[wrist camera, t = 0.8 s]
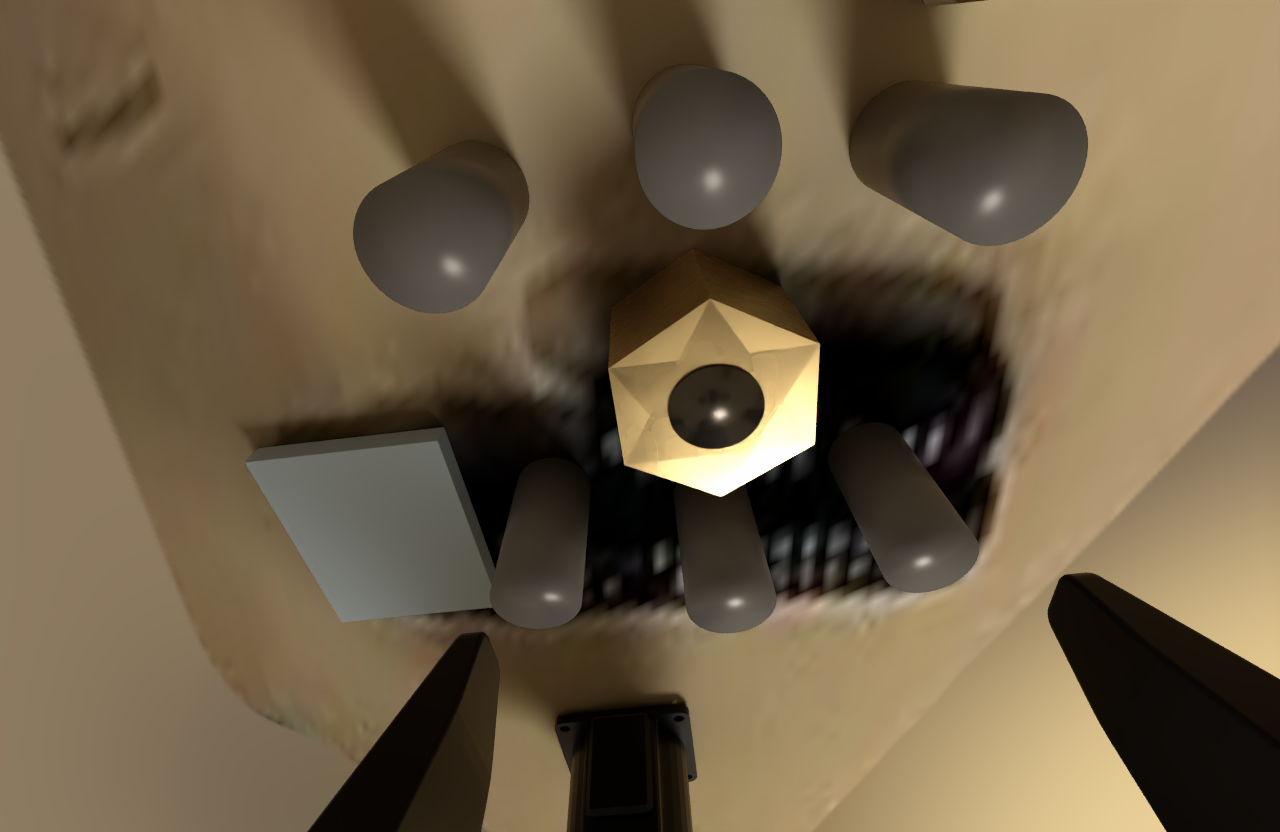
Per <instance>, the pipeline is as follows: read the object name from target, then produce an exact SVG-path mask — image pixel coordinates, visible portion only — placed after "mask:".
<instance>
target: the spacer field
mask: <svg viewBox="0 0 1280 832" xmlns="http://www.w3.org/2000/svg"><path fill="white" fill-rule="evenodd" d="M632 130H633V141H634V150H635V160H636V168H637V173H638V177H639V180H640V184H641V186H642V188H643V191H644V193H645V194H646V196H647V198H648V199H649V201H650V202H651V203H652V205H653V206H654V207H655V208H656V209H657V210H658V211H659V212H660V213H661V214H662V215H663V216H665V217H666V218H668V219H669V220H671V221H673V222H674V223H676V224H679V225H681V226H684V227H688V228H692V229H702V230H705V229H715V228H720V227H724V226H727V225H730V224H732V223H734V222H736V221H738V220H740V219H741V218H743V217H745V216H746V215H747V214H749V213H750V212H751V211H752V210H754V209H755V208H756V206H757V205H758V204H759V203H760V202H761V201H762V200H763V198H764V197H765V196H766V194H767V193H768V191H769V190H770V188H771V186H772V184H773V182H774V180H775V177H776V175H777V172H778V169H779V165H780V160H781V152H782V135H781V129H780V124H779V121H778V118H777V114H776V112H775V110H774V108H773V106H772V104H771V103H770V101H769V100H768V98H767V96H766V95H765V94H764V93H763V92H762V91H761V90H760V89H759V88H758V87H757V86H756V85H755V84H754V83H752V82H751V81H749V80H748V79H746V78H744V77H742V76H740V75H738V74H735V73H732V72H728V71H724V70H718V69H713V68H707V67H702V66H696V65H688V64H685V65H677V66H672V67H670V68H667V69H665V70H663V71H661V72H659V73H658V74H657V75H655V76H654V77H653V78H652V79H651V80H650V81H649V82H648V83H647V84H646V86H645V87H644V88H643V90H642V91H641V93H640V95H639V97H638V99H637V102H636V105H635V108H634V112H633V120H632ZM1087 150H1088V137H1087V131H1086V127H1085V124H1084V122H1083V119H1082V117H1081V116H1080V114H1079V112H1078V111H1077V110H1076V109H1075V108H1074V107H1073V105H1071V104H1070V103H1069V102H1067V101H1066V100H1064V99H1062V98H1060V97H1058V96H1054V95H1051V94H1044V93H1034V92H1023V91H1013V90H1003V89H993V88H983V87H973V86H962V85H952V84H942V83H932V82H922V81H906V82H901V83H898V84H895V85H893V86H891V87H889V88H887V89H885V90H884V91H882V92H881V93H879V94H878V95H877V96H876V97H874V98H873V99H872V100H871V101H870V102H869V103H868V105H867V106H866V107H865V108H864V110H863V111H862V113H861V114H860V116H859V118H858V120H857V122H856V124H855V126H854V129H853V132H852V136H851V141H850V160H851V164H852V167H853V170H854V172H855V174H856V175H857V177H858V178H859V179H860V181H861V182H862V183H863V184H865V185H866V186H867V187H869V188H871V189H872V190H874V191H876V192H878V193H880V194H881V195H883V196H885V197H887V198H889V199H890V200H892V201H894V202H896V203H898V204H899V205H901V206H903V207H905V208H907V209H908V210H910V211H912V212H914V213H916V214H917V215H919V216H921V217H923V218H925V219H926V220H928V221H930V222H932V223H934V224H935V225H937V226H939V227H941V228H943V229H945V230H946V231H948V232H950V233H952V234H954V235H955V236H957V237H959V238H961V239H963V240H964V241H967V242H969V243H972V244H976V245H983V246H995V245H1002V244H1007V243H1010V242H1013V241H1016V240H1018V239H1021V238H1023V237H1025V236H1027V235H1029V234H1031V233H1033V232H1034V231H1036V230H1037V229H1039V228H1040V227H1042V226H1043V225H1044V224H1045V223H1047V222H1048V221H1049V220H1050V219H1051V218H1052V217H1053V216H1054V215H1055V214H1056V213H1057V212H1058V211H1059V210H1060V209H1061V208H1062V207H1063V206H1064V204H1065V203H1066V202H1067V200H1068V199H1069V198H1070V196H1071V195H1072V193H1073V191H1074V190H1075V188H1076V186H1077V184H1078V182H1079V180H1080V178H1081V175H1082V173H1083V170H1084V167H1085V163H1086V158H1087ZM528 209H529V191H528V186H527V183H526V180H525V177H524V175H523V173H522V171H521V170H520V168H519V167H518V165H517V164H516V162H515V161H514V160H513V159H512V158H511V157H510V156H509V155H508V154H506V153H505V152H504V151H502V150H501V149H499V148H498V147H496V146H494V145H491V144H488V143H485V142H481V141H464V142H459V143H457V144H454V145H452V146H450V147H448V148H447V149H445V150H443V151H441V152H439V153H437V154H435V155H434V156H432V157H430V158H428V159H426V160H424V161H423V162H421V163H419V164H417V165H415V166H413V167H411V168H410V169H408V170H406V171H404V172H402V173H400V174H398V175H397V176H395V177H393V178H391V179H389V180H387V181H386V182H384V183H382V184H380V185H378V186H377V187H375V188H374V189H373V190H372V191H370V192H369V193H368V194H367V196H366V197H365V198H364V199H363V201H362V202H361V204H360V206H359V208H358V210H357V213H356V216H355V220H354V228H353V237H354V245H355V250H356V253H357V256H358V259H359V261H360V263H361V265H362V267H363V269H364V271H365V272H366V274H367V275H368V277H369V278H370V279H371V281H372V282H373V283H374V284H375V285H376V286H377V287H378V289H379V290H381V291H382V292H383V293H384V294H385V295H386V296H388V297H389V298H391V299H392V300H394V301H395V302H397V303H399V304H401V305H403V306H405V307H407V308H410V309H413V310H416V311H420V312H425V313H447V312H452V311H455V310H458V309H461V308H463V307H465V306H467V305H468V304H470V303H471V302H473V301H474V300H475V299H476V298H477V297H478V296H479V295H480V294H481V293H482V291H483V290H484V289H485V287H486V285H487V284H488V282H489V280H490V279H491V277H492V275H493V273H494V272H495V270H496V268H497V267H498V265H499V263H500V262H501V260H502V258H503V257H504V255H505V253H506V251H507V250H508V248H509V246H510V245H511V243H512V241H513V240H514V238H515V236H516V235H517V233H518V231H519V229H520V228H521V226H522V224H523V223H524V221H525V219H526V216H527V213H528ZM828 463H829V467H830V469H831V471H832V473H833V475H834V477H835V479H836V481H837V483H838V485H839V487H840V489H841V491H842V493H843V495H844V497H845V500H846V502H847V504H848V506H849V508H850V510H851V512H852V514H853V516H854V518H855V520H856V522H857V524H858V526H859V528H860V530H861V532H862V534H863V536H864V538H865V540H866V542H867V544H868V546H869V548H870V550H871V552H872V554H873V556H874V558H875V560H876V562H877V564H878V566H879V568H880V570H881V572H882V574H883V576H884V578H885V580H886V581H887V582H888V583H889V584H890V585H891V586H892V587H894V588H896V589H898V590H901V591H905V592H912V593H921V592H929V591H934V590H938V589H941V588H943V587H946V586H948V585H950V584H952V583H954V582H956V581H957V580H959V579H960V578H962V577H963V576H964V575H965V574H966V573H968V571H969V570H970V569H971V568H972V567H973V565H974V564H975V562H976V560H977V557H978V554H979V545H978V542H977V540H976V538H975V537H974V535H973V534H972V533H971V531H970V530H969V528H968V527H967V526H966V524H965V523H964V521H963V520H962V519H961V517H960V516H959V515H958V513H957V512H956V510H955V509H954V508H953V506H952V505H951V503H950V502H949V501H948V499H947V498H946V497H945V495H944V494H943V492H942V491H941V490H940V488H939V487H938V485H937V484H936V483H935V481H934V480H933V479H932V477H931V476H930V474H929V473H928V472H927V470H926V469H925V467H924V466H923V465H922V463H921V462H920V461H919V459H918V458H917V456H916V455H915V454H914V452H913V451H912V449H911V448H910V447H909V445H908V444H907V443H906V441H905V440H904V438H903V437H902V436H901V434H900V433H899V432H898V431H897V430H896V429H895V428H894V427H892V426H890V425H888V424H885V423H880V422H868V423H863V424H859V425H857V426H854V427H852V428H850V429H848V430H847V431H845V432H844V433H842V434H841V435H840V436H839V437H838V438H837V439H836V440H835V442H834V443H833V445H832V446H831V448H830V451H829V455H828ZM590 492H591V485H590V481H589V478H588V476H587V474H586V473H585V472H584V471H583V470H582V469H581V468H580V467H579V466H578V465H576V464H574V463H573V462H570V461H568V460H565V459H560V458H543V459H539V460H536V461H534V462H532V463H530V464H529V465H527V466H526V467H525V468H524V469H523V470H522V472H521V473H520V475H519V478H518V481H517V485H516V489H515V493H514V497H513V501H512V505H511V509H510V513H509V517H508V522H507V526H506V530H505V534H504V538H503V542H502V546H501V550H500V554H499V558H498V562H497V566H496V570H495V574H494V578H493V582H492V586H491V590H490V602H491V605H492V607H493V609H494V610H495V612H496V613H497V614H498V615H499V616H500V617H502V618H503V619H504V620H506V621H507V622H509V623H511V624H514V625H516V626H519V627H523V628H528V629H549V628H554V627H558V626H561V625H563V624H565V623H567V622H569V621H570V620H572V619H573V618H574V617H575V616H576V615H577V614H578V612H579V610H580V608H581V605H582V595H583V583H584V570H585V557H586V544H587V531H588V518H589V505H590ZM674 502H675V511H676V520H677V529H678V538H679V547H680V556H681V565H682V574H683V582H684V591H685V600H686V609H687V613H688V615H689V617H690V619H691V620H692V621H693V622H694V623H695V624H696V625H698V626H699V627H701V628H703V629H706V630H708V631H712V632H717V633H736V632H741V631H745V630H748V629H751V628H753V627H756V626H757V625H759V624H761V623H762V622H764V621H765V620H766V619H767V618H768V617H769V616H770V615H771V614H772V612H773V610H774V608H775V606H776V600H777V599H776V593H775V590H774V586H773V583H772V579H771V575H770V572H769V568H768V565H767V561H766V558H765V554H764V550H763V547H762V543H761V540H760V536H759V532H758V529H757V525H756V522H755V518H754V515H753V511H752V507H751V504H750V500H749V497H748V493H747V489H746V486H745V484H743V485H741V486H740V487H738V488H736V489H734V490H732V491H731V492H729V493H727V494H725V495H724V496H722V497H720V496H717V495H714V494H711V493H708V492H705V491H702V490H699V489H696V488H693V487H690V486H687V485H684V484H681V483H678V482H677V483H676V485H675V488H674Z"/></svg>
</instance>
